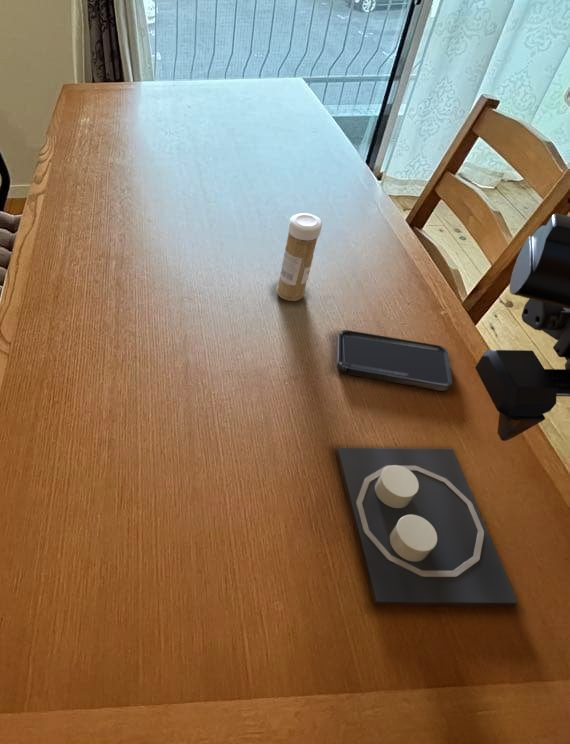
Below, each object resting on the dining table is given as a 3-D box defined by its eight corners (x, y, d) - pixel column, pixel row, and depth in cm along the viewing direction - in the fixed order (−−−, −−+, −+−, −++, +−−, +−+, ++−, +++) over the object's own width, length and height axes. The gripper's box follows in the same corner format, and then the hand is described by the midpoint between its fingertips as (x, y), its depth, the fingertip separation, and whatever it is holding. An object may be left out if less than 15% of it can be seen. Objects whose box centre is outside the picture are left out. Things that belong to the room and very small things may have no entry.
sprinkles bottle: (309, 298, 88) (328, 226, 78) (284, 304, 86) (300, 232, 77) (295, 281, 91) (312, 209, 81) (270, 287, 89) (284, 214, 80)
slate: (449, 453, 68) (453, 448, 67) (513, 606, 55) (519, 602, 54) (335, 452, 68) (337, 447, 67) (373, 605, 55) (377, 601, 54)
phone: (339, 328, 81) (446, 346, 79) (337, 334, 82) (443, 352, 80) (338, 367, 76) (453, 387, 73) (336, 372, 76) (450, 393, 74)
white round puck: (405, 477, 64) (412, 465, 62) (416, 508, 61) (423, 497, 60) (370, 476, 64) (377, 464, 62) (380, 508, 61) (387, 496, 60)
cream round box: (421, 525, 60) (430, 514, 58) (434, 562, 57) (443, 551, 55) (385, 525, 60) (392, 514, 58) (395, 561, 57) (403, 551, 55)
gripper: (697, 262, 49) (596, 377, 61) (489, 259, 49) (427, 375, 61) (795, 352, 42) (659, 465, 53) (549, 349, 42) (465, 463, 53)
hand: (547, 437), depth 55 cm, fingers open, 9 cm apart
